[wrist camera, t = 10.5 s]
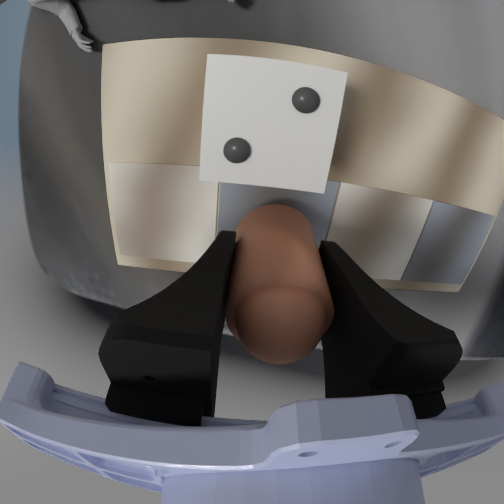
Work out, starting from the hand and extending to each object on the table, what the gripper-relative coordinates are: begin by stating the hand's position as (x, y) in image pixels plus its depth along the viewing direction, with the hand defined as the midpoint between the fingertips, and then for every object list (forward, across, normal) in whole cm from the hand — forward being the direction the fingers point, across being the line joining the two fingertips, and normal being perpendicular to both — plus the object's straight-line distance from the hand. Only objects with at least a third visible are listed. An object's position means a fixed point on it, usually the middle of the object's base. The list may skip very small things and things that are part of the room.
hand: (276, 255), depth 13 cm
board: (+3, -3, -2) cm, 5 cm away
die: (+3, +1, -6) cm, 6 cm away
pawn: (+1, 0, 0) cm, 1 cm away
